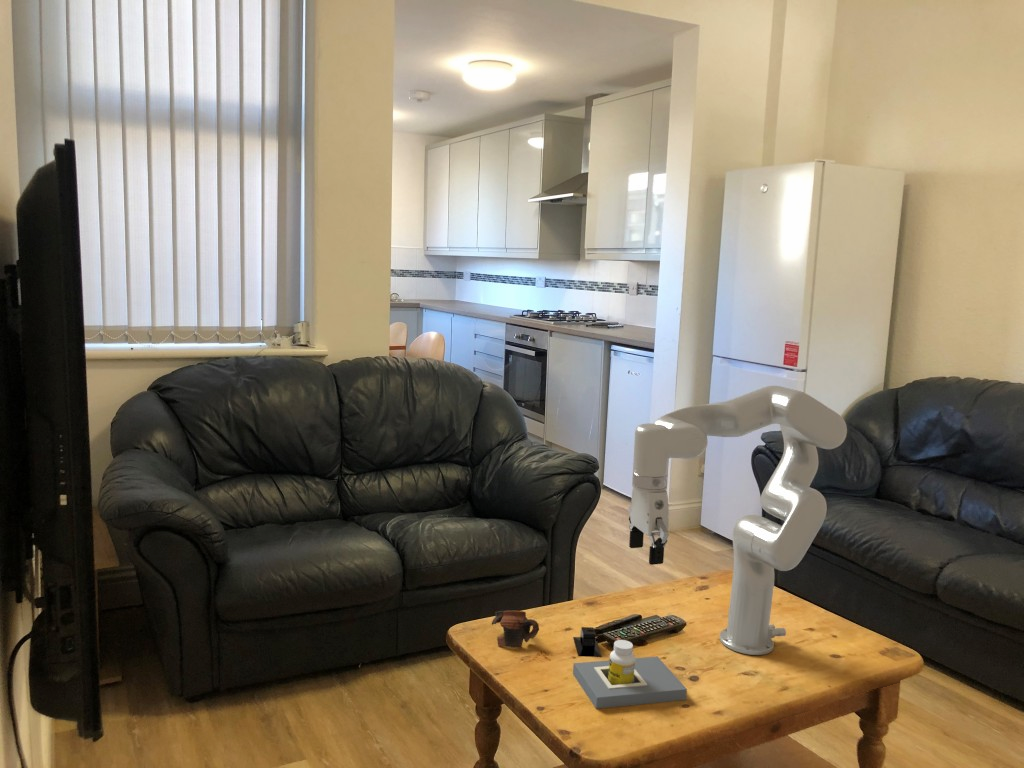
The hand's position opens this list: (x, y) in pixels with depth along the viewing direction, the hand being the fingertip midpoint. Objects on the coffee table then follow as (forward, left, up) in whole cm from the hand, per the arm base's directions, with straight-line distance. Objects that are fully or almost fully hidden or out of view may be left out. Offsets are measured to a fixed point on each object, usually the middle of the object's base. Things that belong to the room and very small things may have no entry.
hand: (645, 555), depth 177 cm
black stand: (+8, -9, -26) cm, 29 cm away
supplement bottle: (+8, +9, -26) cm, 28 cm away
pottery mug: (+24, -15, -26) cm, 39 cm away
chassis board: (+6, +9, -26) cm, 28 cm away
